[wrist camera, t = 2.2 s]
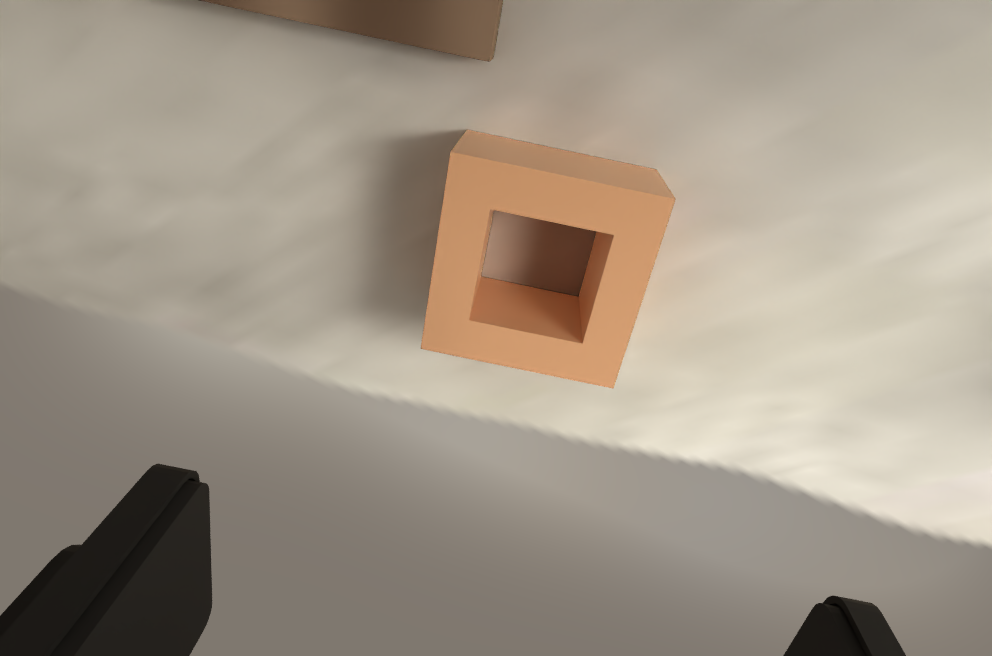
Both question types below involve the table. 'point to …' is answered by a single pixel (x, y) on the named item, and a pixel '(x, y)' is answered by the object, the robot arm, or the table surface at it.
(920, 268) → the table surface
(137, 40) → the table surface
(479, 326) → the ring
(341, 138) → the table surface
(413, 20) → the post stand
